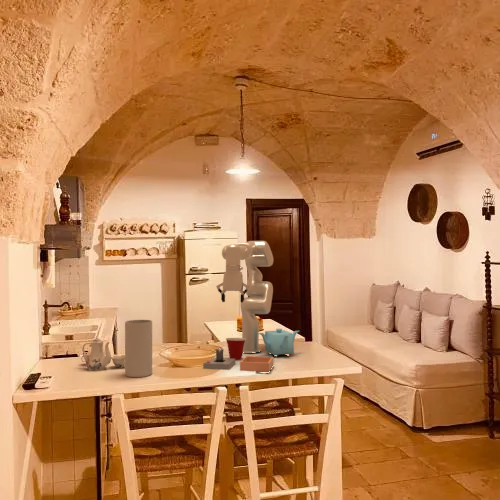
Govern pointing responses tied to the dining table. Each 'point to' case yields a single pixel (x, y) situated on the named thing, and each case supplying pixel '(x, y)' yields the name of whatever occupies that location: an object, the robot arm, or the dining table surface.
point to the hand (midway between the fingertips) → (232, 302)
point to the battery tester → (219, 364)
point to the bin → (257, 364)
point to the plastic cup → (235, 347)
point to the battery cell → (219, 355)
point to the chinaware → (100, 356)
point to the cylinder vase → (138, 348)
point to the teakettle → (279, 341)
